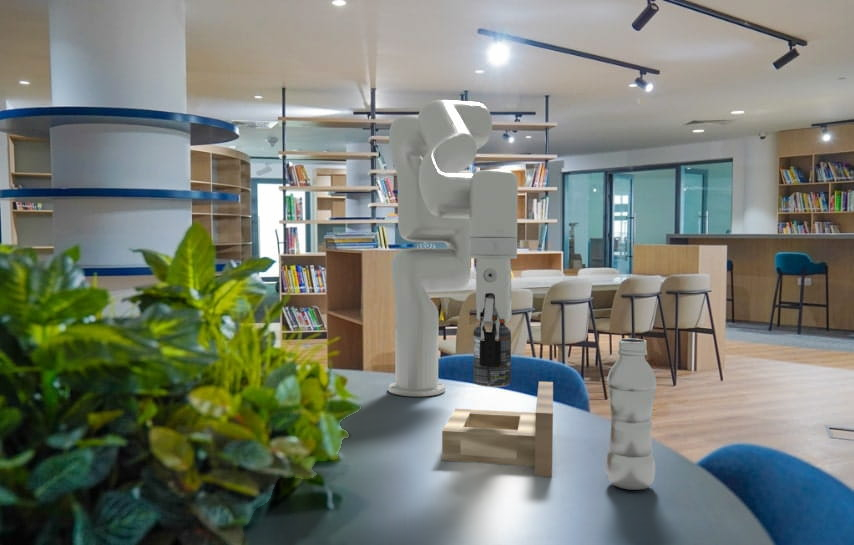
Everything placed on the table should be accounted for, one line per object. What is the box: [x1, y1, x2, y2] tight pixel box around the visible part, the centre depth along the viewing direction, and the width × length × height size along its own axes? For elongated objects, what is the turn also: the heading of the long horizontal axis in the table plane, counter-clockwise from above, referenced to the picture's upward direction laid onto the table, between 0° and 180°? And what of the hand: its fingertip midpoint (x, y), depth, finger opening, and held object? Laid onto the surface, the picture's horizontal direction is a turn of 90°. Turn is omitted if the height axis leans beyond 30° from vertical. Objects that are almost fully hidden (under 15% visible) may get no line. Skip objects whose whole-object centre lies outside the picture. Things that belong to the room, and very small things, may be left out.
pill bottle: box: [473, 313, 512, 388], centre depth 108 cm, size 6×6×11 cm
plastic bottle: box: [605, 338, 657, 491], centre depth 92 cm, size 6×7×20 cm
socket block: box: [441, 408, 536, 467], centre depth 108 cm, size 14×14×4 cm
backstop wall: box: [534, 381, 554, 477], centre depth 107 cm, size 22×2×9 cm, turn 169°
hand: (492, 361), depth 108 cm, fingers closed on pill bottle, 6 cm apart
